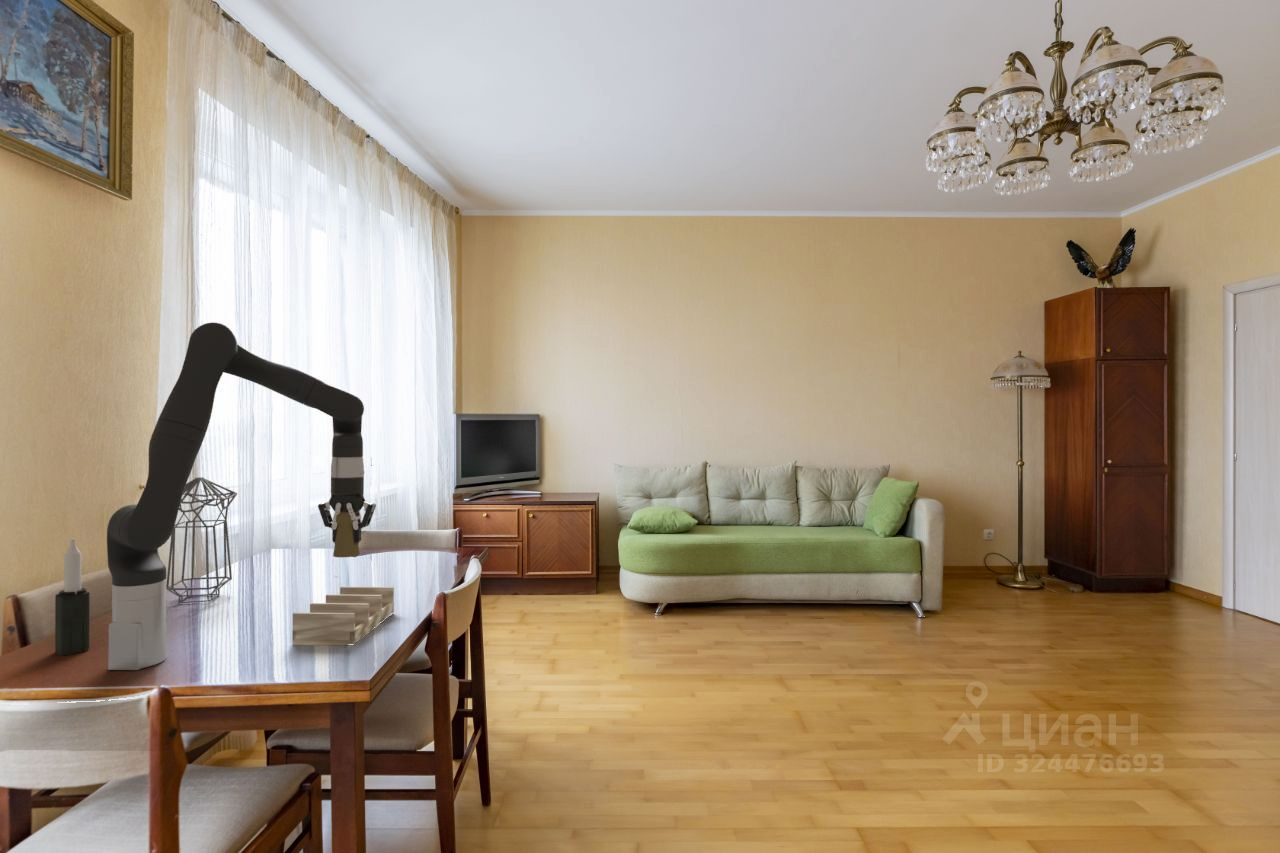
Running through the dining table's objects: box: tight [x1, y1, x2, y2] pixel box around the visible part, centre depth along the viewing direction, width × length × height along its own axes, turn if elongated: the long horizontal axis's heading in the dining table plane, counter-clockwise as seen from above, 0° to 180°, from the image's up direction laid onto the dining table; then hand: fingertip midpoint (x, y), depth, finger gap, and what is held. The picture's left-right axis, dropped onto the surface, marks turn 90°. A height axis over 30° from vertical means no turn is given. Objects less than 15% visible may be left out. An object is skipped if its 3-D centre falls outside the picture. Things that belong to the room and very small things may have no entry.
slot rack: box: [291, 586, 395, 646], centre depth 168 cm, size 25×14×7 cm, turn 0°
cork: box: [332, 512, 361, 558], centre depth 168 cm, size 6×6×11 cm
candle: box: [54, 537, 91, 656], centre depth 150 cm, size 5×5×25 cm
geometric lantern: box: [166, 476, 238, 604], centre depth 193 cm, size 16×16×35 cm
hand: (346, 543), depth 168 cm, fingers closed on cork, 4 cm apart
